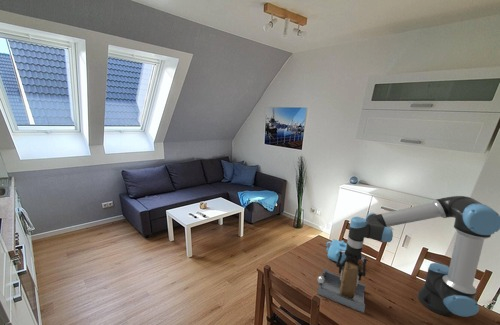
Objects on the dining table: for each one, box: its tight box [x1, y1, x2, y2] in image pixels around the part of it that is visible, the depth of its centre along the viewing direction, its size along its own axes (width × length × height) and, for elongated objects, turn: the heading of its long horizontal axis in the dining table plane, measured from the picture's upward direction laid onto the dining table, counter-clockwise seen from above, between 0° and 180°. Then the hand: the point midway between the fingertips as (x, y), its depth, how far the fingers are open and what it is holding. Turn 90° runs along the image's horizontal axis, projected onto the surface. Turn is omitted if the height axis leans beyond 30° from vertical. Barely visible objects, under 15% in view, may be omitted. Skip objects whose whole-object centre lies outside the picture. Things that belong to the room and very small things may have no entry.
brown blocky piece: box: [340, 260, 359, 298], centre depth 118 cm, size 11×8×20 cm
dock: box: [317, 267, 366, 314], centre depth 121 cm, size 25×17×10 cm
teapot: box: [326, 239, 347, 264], centre depth 151 cm, size 18×16×14 cm
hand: (348, 281), depth 119 cm, fingers closed on brown blocky piece, 7 cm apart
